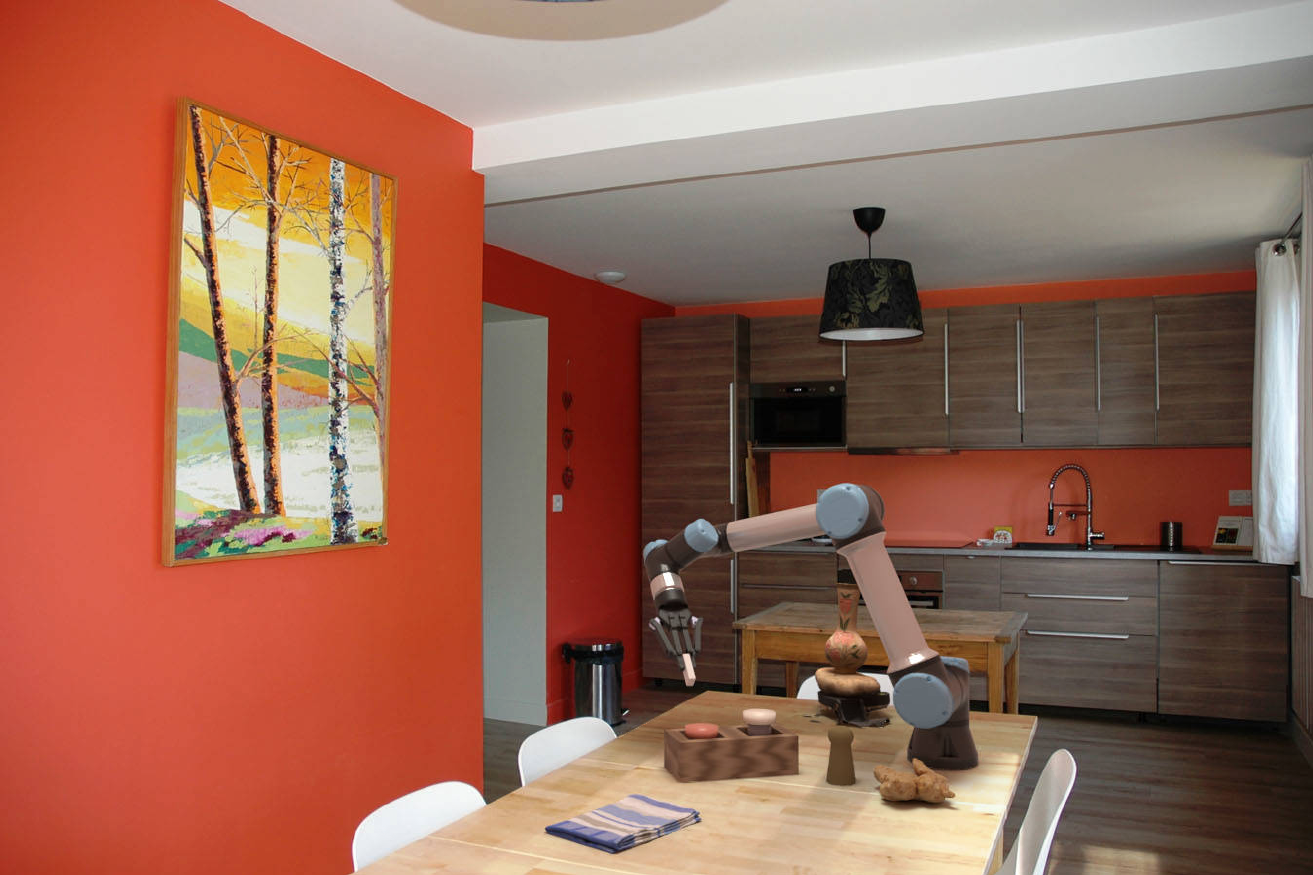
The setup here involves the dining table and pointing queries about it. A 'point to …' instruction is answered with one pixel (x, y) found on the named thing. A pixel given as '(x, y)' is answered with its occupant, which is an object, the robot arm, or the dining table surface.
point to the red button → (701, 731)
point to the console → (731, 754)
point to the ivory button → (759, 721)
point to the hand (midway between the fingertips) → (691, 682)
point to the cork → (840, 757)
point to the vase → (849, 668)
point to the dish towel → (625, 823)
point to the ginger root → (912, 784)
